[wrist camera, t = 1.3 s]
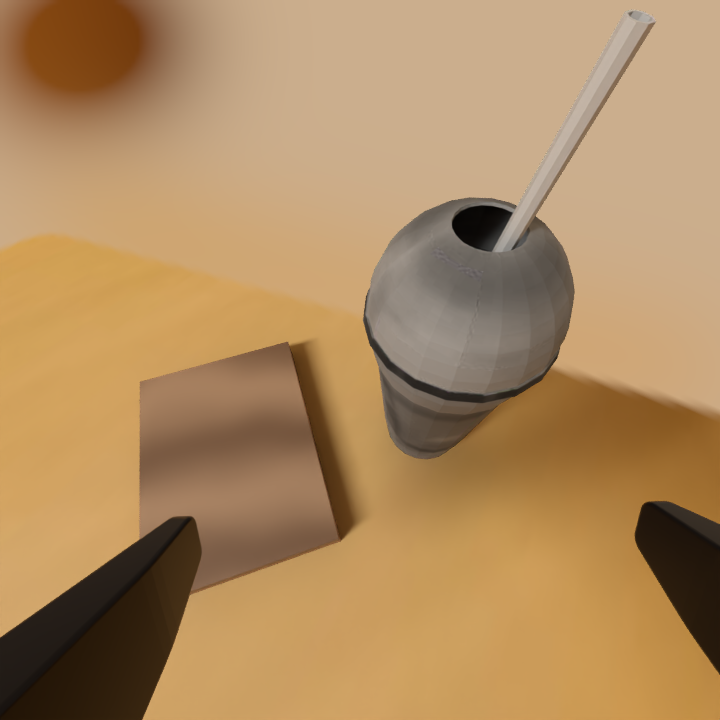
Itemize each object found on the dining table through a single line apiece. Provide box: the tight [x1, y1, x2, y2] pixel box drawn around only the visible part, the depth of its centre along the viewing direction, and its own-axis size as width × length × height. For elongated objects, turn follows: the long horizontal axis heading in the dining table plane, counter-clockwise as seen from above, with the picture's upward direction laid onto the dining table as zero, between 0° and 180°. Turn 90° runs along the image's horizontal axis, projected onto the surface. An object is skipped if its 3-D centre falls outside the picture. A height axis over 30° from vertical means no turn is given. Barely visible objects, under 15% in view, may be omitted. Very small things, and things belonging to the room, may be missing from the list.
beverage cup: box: [363, 10, 655, 459], centre depth 15 cm, size 7×7×20 cm
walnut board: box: [140, 342, 341, 595], centre depth 22 cm, size 13×10×2 cm
